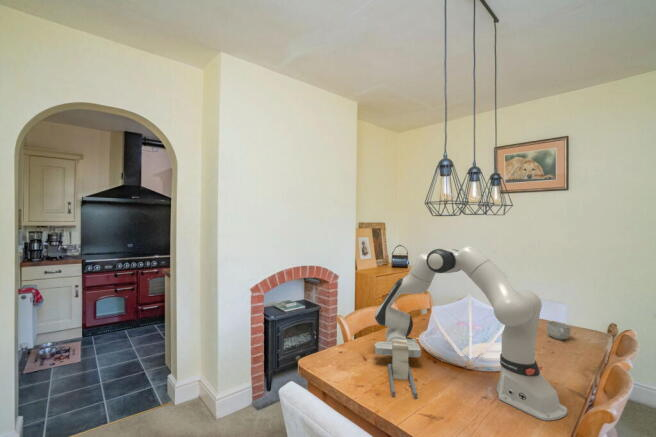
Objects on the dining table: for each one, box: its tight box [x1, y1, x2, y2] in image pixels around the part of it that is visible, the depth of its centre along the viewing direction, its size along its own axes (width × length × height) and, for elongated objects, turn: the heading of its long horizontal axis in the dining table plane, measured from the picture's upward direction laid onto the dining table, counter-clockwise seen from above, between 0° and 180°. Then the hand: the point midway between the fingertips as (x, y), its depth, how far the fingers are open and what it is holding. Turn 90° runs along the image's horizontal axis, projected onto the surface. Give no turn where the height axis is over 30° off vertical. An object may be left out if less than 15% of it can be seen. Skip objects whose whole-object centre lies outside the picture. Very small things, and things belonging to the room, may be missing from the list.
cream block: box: [391, 339, 409, 381], centre depth 132 cm, size 6×6×14 cm
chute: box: [387, 363, 418, 400], centre depth 127 cm, size 22×10×3 cm, turn 173°
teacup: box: [546, 320, 572, 341], centre depth 176 cm, size 14×11×8 cm
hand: (399, 357), depth 135 cm, fingers closed
